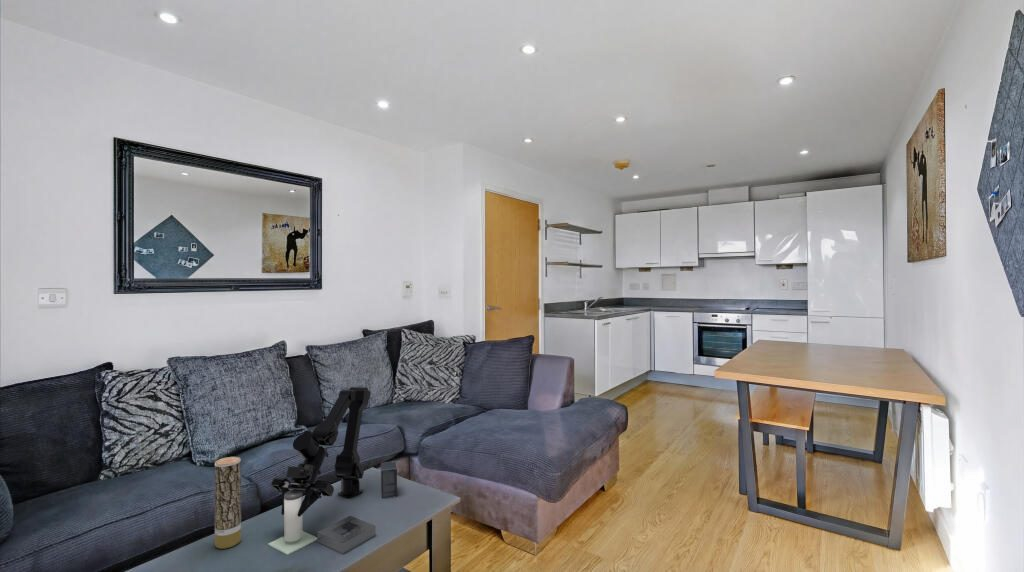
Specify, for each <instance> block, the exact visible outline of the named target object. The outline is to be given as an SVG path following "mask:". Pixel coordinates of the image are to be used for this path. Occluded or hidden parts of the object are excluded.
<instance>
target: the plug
mask: <svg viewBox="0 0 1024 572" xmlns="http://www.w3.org/2000/svg"><path fill="white" fill-rule="evenodd" d="M302 502H303V490H299V489H293V490H291V491H288V492H286V493H285V494H284V515H283V516H284V517H283V519H284V521H283V522H284V523H283V524H284V527H283V528H284V530H283V531H284V532H283V533H284V534H283V535H284V540H285V541H287V542H293V541H297V540H299V539H300V538H302V536H303V531H304V530H303V527H304V526H303V524H304V523H303V518H304V517H303V514H302V515H301V516H300V517H299V516H298V512H299V509H300V507H301V504H302Z"/></svg>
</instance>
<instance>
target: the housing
mask: <svg viewBox="0 0 1024 572" xmlns="http://www.w3.org/2000/svg"><path fill="white" fill-rule="evenodd" d="M376 529H377V528H376V524H372V523H369V522H367V521H364V520H362V519H360V518H358V517H354V516H352V515H349V516H347V517H344V518H342V519H341V520H339V521H337V522H335V523H333V524H331V525H329V526H327V527H325V528H323V529H322V528H321V529H320V530H319V531H317V533H316V534H317V535H316V537H317V540H316V541H317V543H319V544H321V545H323V546H325V547H328V548H329V549H331V550H334V551H335V552H338V553H339V554H342V555H344V554H345V553H347V552H350V551H351V550H353V549H354V548H356V547H357V546H360V545H362V544H363V543H365V542H367V541H368V540H370V539H372V538H373V537H375V536H376V535H377V533H376ZM347 532H348V533H349V532H350V533H349V534H347V535H344V534H346V533H347Z"/></svg>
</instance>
